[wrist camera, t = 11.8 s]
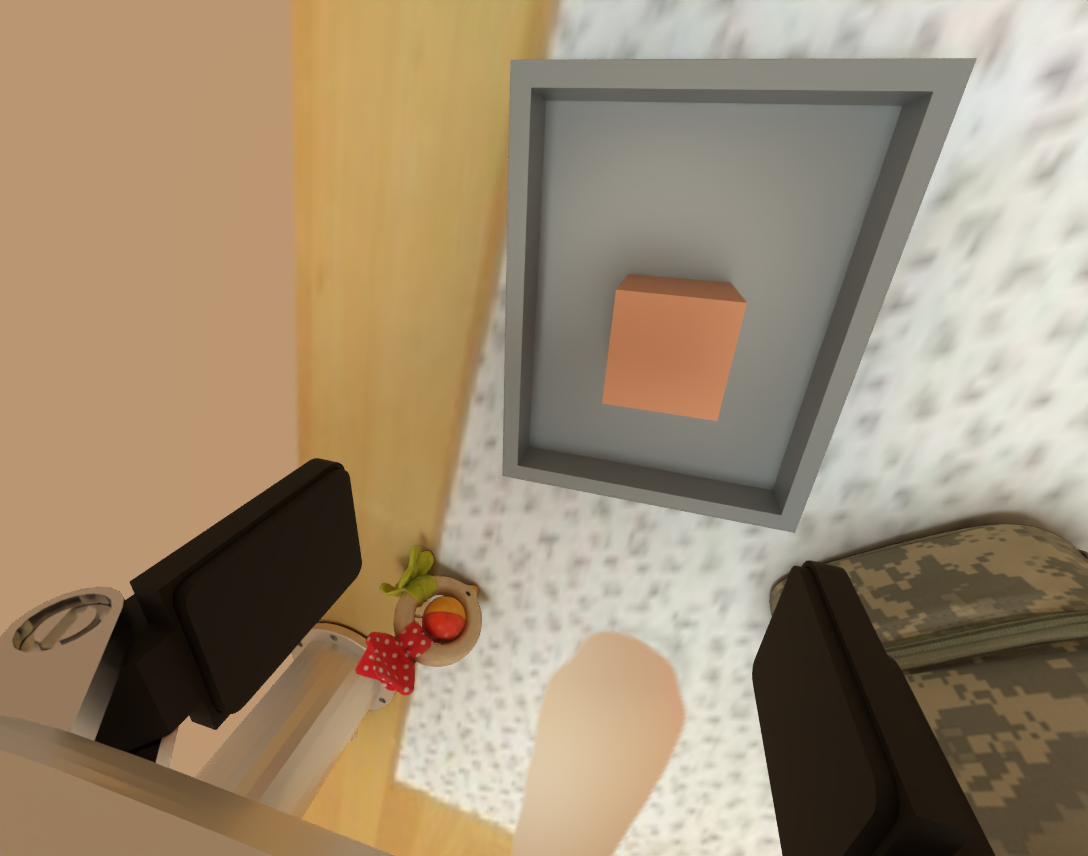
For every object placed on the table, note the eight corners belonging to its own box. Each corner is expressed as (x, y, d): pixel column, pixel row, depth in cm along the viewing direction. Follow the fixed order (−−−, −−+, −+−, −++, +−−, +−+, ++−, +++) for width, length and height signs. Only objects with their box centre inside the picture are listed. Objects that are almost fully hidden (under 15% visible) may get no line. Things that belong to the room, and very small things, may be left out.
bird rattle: (492, 548, 41) (389, 530, 38) (496, 673, 32) (362, 662, 29) (471, 590, 44) (375, 577, 41) (470, 715, 35) (346, 709, 32)
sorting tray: (782, 499, 29) (794, 532, 26) (518, 451, 33) (502, 475, 30) (930, 82, 20) (976, 58, 17) (532, 79, 23) (510, 59, 20)
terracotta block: (709, 380, 27) (717, 421, 21) (615, 367, 28) (602, 403, 22) (731, 283, 24) (747, 302, 19) (628, 273, 25) (616, 289, 20)
